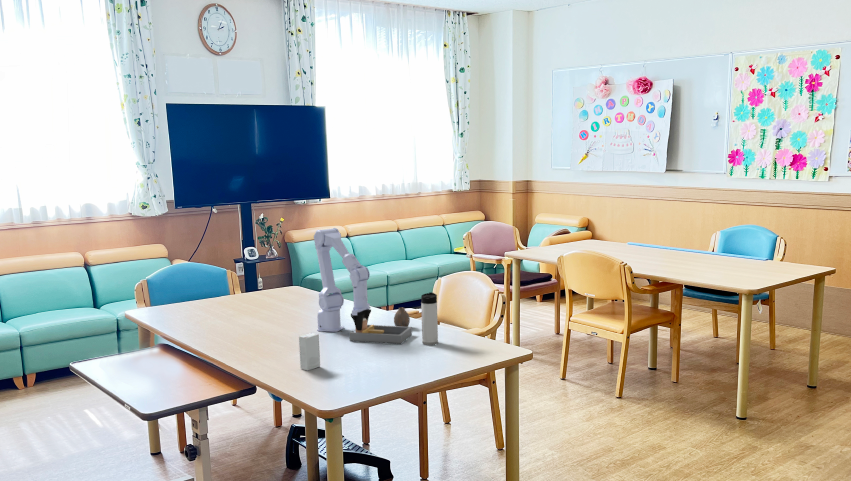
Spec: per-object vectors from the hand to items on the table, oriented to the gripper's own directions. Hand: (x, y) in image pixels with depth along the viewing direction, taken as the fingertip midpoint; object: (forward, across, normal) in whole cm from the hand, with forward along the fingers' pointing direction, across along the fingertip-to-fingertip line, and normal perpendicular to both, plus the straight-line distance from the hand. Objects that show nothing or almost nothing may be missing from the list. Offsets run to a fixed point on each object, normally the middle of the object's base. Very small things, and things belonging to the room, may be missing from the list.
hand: (361, 328), depth 284 cm
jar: (+2, 0, 0) cm, 2 cm away
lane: (+4, 0, -8) cm, 9 cm away
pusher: (+3, 0, -6) cm, 7 cm away
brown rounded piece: (+4, +18, -12) cm, 22 cm away
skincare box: (+4, -43, +2) cm, 43 cm away
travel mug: (+4, -3, -30) cm, 31 cm away
